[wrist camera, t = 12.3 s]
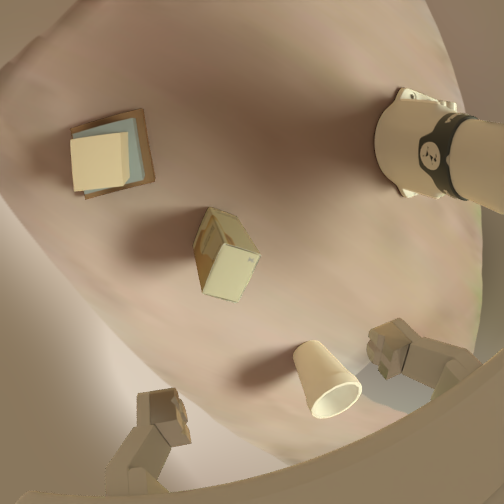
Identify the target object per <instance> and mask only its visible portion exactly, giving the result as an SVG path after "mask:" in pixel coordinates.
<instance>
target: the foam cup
mask: <svg viewBox="0 0 504 504" xmlns="http://www.w3.org/2000/svg"><path fill="white" fill-rule="evenodd" d="M293 360H294V363H295V366H296V369H297V372H298V375H299V378H300V381H301V384H302V387H303V390H304V393H305V396H306V402H307V405H308V407H309V409H310V411H311V413H312V415H313V416H315V417H317V418H329V417H332V416H335V415H338V414H340V413H341V412H343V411H345V410H346V409H348V408H349V407H350V406H351V405H352V404H354V403H355V402H356V401H357V399H358V398H359V396H360V394H361V392H362V385H361V384H360V382H359V381H358V380H357V378H356V377H355V376H354V375H353V374H352V373H350V372H349V371H348V370H347V369H346V368H345V367H344V366H343V365H342V364H341V363H340V362H339V361H338V360H337V359H336V358H335V357H334V356H333V355H332V354H331V353H330V352H329V351H328V350H327V349H326V348H325V346H323V345H322V344H321V343H320V342H319V341H315V340H311V341H307V342H305V343H303V344H301V345H300V346H299V347H298V348H297V349H296V350H295V351H294V354H293Z"/></svg>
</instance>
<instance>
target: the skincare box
mask: <svg viewBox="0 0 504 504" xmlns="http://www.w3.org/2000/svg"><path fill="white" fill-rule="evenodd" d="M193 250H194V255H195V260H196V265H197V270H198V275H199V280H200V285H201V290H202V294H205V295H208V296H212V297H215V298H218V299H222V300H226V301H229V302H233V303H238V302H239V300H240V298H241V296H242V294H243V292H244V290H245V288H246V286H247V284H248V282H249V280H250V278H251V276H252V274H253V272H254V270H255V267H256V265H257V263H258V261H259V259H260V257H261V254H260V253H259V251H258V249H257V248H256V246H255V245H254V243H253V242H252V240H251V238H250V237H249V235H248V234H247V232H246V230H245V229H244V227H243V226H242V224H241V223H240V221H239V219H238V218H237V217H236V216H234V215H232V214H229V213H227V212H224V211H221V210H218V209H215V208H212V207H208V209H207V211H206V214H205V216H204V218H203V220H202V223H201V225H200V227H199V230H198V233H197V235H196V238H195V241H194V244H193Z"/></svg>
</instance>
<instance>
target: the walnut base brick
mask: <svg viewBox="0 0 504 504" xmlns="http://www.w3.org/2000/svg"><path fill="white" fill-rule="evenodd" d="M129 118H136V124H137V131H138V137H139V143H140V149H141V155H142V161H143V166H144V172H145V177H144V179H143V180H141V181H137V182H132V183H128V184H124V186H120V187H112V188H108V189H104V190H100V191H96V192H92V193H89V194H84V196H85V199H89V198H93V197H96V196H100V195H104V194H107V193H111V192H115V191H119V190H123V189H127V188H131V187H135V186H139V185H143V184H147V183H151V182H155V173H154V168H153V163H152V157H151V152H150V146H149V141H148V135H147V129H146V123H145V117H144V110H143V109H142V108H141V109H137V110H133V111H129V112H125V113H121V114H117V115H114V116H110V117H106V118H103V119H99V120H96V121H93V122H89V123H86V124H83V125H80V126H77V127H74V128H71V129H70V131H71V136H72V139H73V135H72V134H74V133H78V132H81V131H84V130H88V129H91V128H94V127H98V126H102V125H105V124H109V123H113V122H117V121H121V120H125V119H129ZM83 192H84V191H83Z"/></svg>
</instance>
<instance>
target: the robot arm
mask: <svg viewBox="0 0 504 504" xmlns="http://www.w3.org/2000/svg"><path fill="white" fill-rule="evenodd" d="M410 95H411V97H410ZM375 153H376V158H377V161H378V164H379V166H380V168H381V170H382V172H383V173H384V174H385V176H386V177H387V178H388V179H389V180H391V181H392V182H393V183H395V184H396V185H397V186H398V189H399V191H400V192H401V194H402V196H404V197H406V198H411V197H413V196H415V195H418V194H421V195H424V196H427V197H431V198H434V199H439V198H440V197H442V196H444V195H446V194H447V195H448V196H450V197H452V198H455V199H460V200H464V201H467V200H470V201H473V202H475V203H477V204H480V205H482V206H484V207H487V208H489V209H491V210H493V211H496V212H498V213H500V214H503V215H504V123H497V122H490V121H483V120H479V119H477V118H476V117H474V116H471V115H468V114H464V113H458V112H457V105H456V103H453V102H448V101H441V100H436V99H434V98H431V97H429V96H426V95H424V94H421V93H419V92H416V91H414V90H411V89H408V88H401V89H400V90H399V92H398V94H397V96H396V99H395V101H394V102H393V103H392V104H391V105H390V106H389V107H388V108H387V109H386V110H385V111H384V112H383V114H382V115H381V117H380V119H379V121H378V124H377V127H376V132H375ZM368 337H369V338H370V341H369V342H368V344H367V354H368V357H369V359H370V360H371V362H372V363H373V364H376V365H378V371H379V372H380V373H381V374H382V375H383V377H384V378H385V379H386V380H387V379H390V378H392V377H394V376H396V375H398V374H400V373H402V374H403V375H405V376H407V377H409V378H412V379H414V380H416V381H418V382H420V383H422V384H424V385H427V386H429V387H431V388H433V389H435V390H434V392H433V394H432V396H431V401H430V402H429V403H427V404H426V405H424V406H422V407H421V408H419V409H417V410H415V411H414V412H412V413H410V414H408V415H407V416H405V417H403V418H401V419H399V420H398V421H396V422H394V423H392V424H390V425H388V426H386V427H384V428H382V429H380V430H378V431H376V432H374V433H372V434H370V435H368V436H366V437H364V438H362V439H359V440H357V441H355V442H353V443H350V444H348V445H346V446H343V447H341V448H339V449H336V450H334V451H331V452H329V453H326V454H324V455H321V456H318V457H316V458H313V459H310V460H308V461H305V462H302V463H299V464H296V465H293V466H290V467H287V468H284V469H280V470H277V471H274V472H270V473H267V474H263V475H260V476H256V477H252V478H248V479H244V480H240V481H235V482H231V483H226V484H221V485H216V486H211V487H205V488H199V489H193V490H186V491H179V492H170V493H169V491H168V490H167V489H166V488H164V487H163V486H162V485H161V484H160V483H159V482H158V481H157V479H158V477H159V475H160V472H161V470H162V468H163V466H164V464H165V462H166V459H167V457H168V455H169V453H170V451H171V447H176V446H181V445H187V444H191V438H190V432H189V429H188V427H187V425H186V423H187V422H188V419H187V414H186V410H185V407H184V404H183V402H182V400H181V399H179V396H178V392H177V390H176V388H168V389H162V390H156V391H150V392H143V393H138V395H137V427H133V429H132V430H131V432H130V433H129V435H128V436H127V438H126V439H125V440H124V442H123V443H122V445H121V446H120V448H119V449H118V451H117V452H116V454H115V455H114V457H113V458H112V459H111V461H110V462H109V464H108V465H107V467H106V468H105V469H106V470H105V490H106V491H105V492H106V496H82V495H67V494H55V493H47V492H40V491H28V492H26V493H25V494H24V495H22V496H21V497H20V499H19V500H18V501H17V502H16V503H15V504H504V348H503V349H502V350H500V351H499V352H498V353H497V354H496V355H494V356H493V357H492V358H491V359H489V360H488V361H487V362H486V363H484V364H482V363H481V362H480V361H479V360H478V359H477V358H476V357H475V356H474V355H473V354H472V353H470V352H469V351H468V350H467V349H465V348H461V347H458V346H454V345H451V344H447V343H444V342H440V341H437V340H433V339H430V338H426V337H423V338H421V337H420V336H419V335H418V334H417V333H416V332H415V331H414V330H413V329H412V328H411V327H410V326H409V325H408V324H407V323H406V322H405V321H404V320H402V319H401V318H397V319H395V320H392V321H390V322H387V323H385V324H382V325H380V326H378V327H375V328H373V329H371V330H370V331H369V336H368Z"/></svg>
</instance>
